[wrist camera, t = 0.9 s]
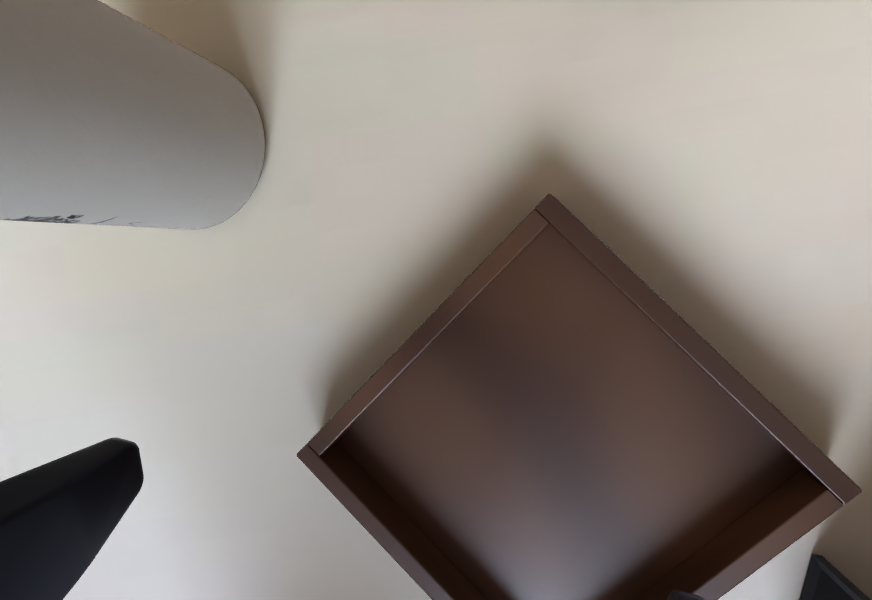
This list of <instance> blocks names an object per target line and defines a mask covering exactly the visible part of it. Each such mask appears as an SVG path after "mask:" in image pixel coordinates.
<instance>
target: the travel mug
mask: <svg viewBox="0 0 872 600" xmlns="http://www.w3.org/2000/svg"><path fill="white" fill-rule="evenodd" d="M264 154H265V138H264V130H263V125H262V120H261V117H260V114H259V111H258V109H257V106H256V104H255V102H254V100H253V99H252V97H251V95H250V94H249V92H248V91H247V89H246V88H245V87H244V86H243V85H242V83H241V82H240V81H239V80H238V79H237V78H236V77H234V76H233V75H232V74H230V73H229V72H228V71H226V70H224V69H223V68H221V67H219V66H217V65H216V64H214V63H212V62H210V61H208V60H206V59H205V58H203V57H201V56H199V55H197V54H195V53H194V52H192V51H190V50H188V49H186V48H184V47H183V46H181V45H179V44H177V43H175V42H174V41H172V40H170V39H168V38H166V37H164V36H163V35H161V34H159V33H157V32H155V31H153V30H152V29H150V28H148V27H146V26H144V25H142V24H141V23H139V22H137V21H135V20H133V19H131V18H130V17H128V16H126V15H124V14H122V13H120V12H119V11H117V10H115V9H113V8H111V7H109V6H108V5H106V4H104V3H102V2H100V1H98V0H0V220H12V221H32V222H52V223H72V224H92V225H112V226H132V227H152V228H172V229H203V228H208V227H211V226H214V225H217V224H219V223H221V222H223V221H225V220H227V219H228V218H230V217H231V216H232V215H234V214H235V213H236V212H237V211H238V210H239V209H240V208H241V207H242V206H243V205H244V204H245V203H246V201H247V200H248V199H249V197H250V196H251V194H252V193H253V191H254V189H255V187H256V185H257V182H258V180H259V177H260V174H261V171H262V167H263V162H264Z"/></svg>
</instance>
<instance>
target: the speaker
mask: <svg viewBox="0 0 872 600" xmlns="http://www.w3.org/2000/svg"><path fill="white" fill-rule="evenodd" d="M800 600H870V599H869V598H868V597H867V596H866V595H865V594H864V593H862V592H861V591H860V590H859V589H858V588H857V587H856V586H855V585H854V584H853V583H852V582H850V581H849V580H848V579H847V578H846V577H845V576H844V575H843V574H842V573H841V572H839V571H838V570H837V569H836V568H835V567H834V566H833V565H832V564H831V563H830V562H828V561H827V560H826V559H825V558H824V557H823V556H820V555H814V554H812V558H811V562H810V565H809V569H808V573H807V576H806V580H805V584H804V587H803V591H802V595H801V598H800Z"/></svg>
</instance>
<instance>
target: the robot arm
mask: <svg viewBox="0 0 872 600" xmlns="http://www.w3.org/2000/svg"><path fill="white" fill-rule="evenodd" d="M143 478H144V477H143V470H142V464H141V458H140V453H139V448H138V446H137V445H136V443H134V442H131V441H128V440H124V439H120V438H110V439H107V440H104V441H102V442H99V443H97V444H94V445H92V446H89V447H87V448H84V449H82V450H79V451H77V452H74V453H72V454H69V455H67V456H64V457H62V458H59V459H57V460H54V461H52V462H49V463H47V464H44V465H41V466H39V467H36V468H34V469H31V470H29V471H26V472H24V473H21V474H19V475H16V476H14V477H11V478H9V479H6V480H4V481H1V482H0V600H63V598H64V597H65V596H66V595H67V594H68V592H69V591H70V590H71V589H72V587H73V586H74V585H75V584H76V582H77V581H78V580H79V578H80V577H81V576H82V575H83V573H84V572H85V571H86V569H87V568H88V566H89V565H90V564H91V562H92V561H93V559H94V558H95V556H96V555H97V554H98V552H99V551H100V549H101V548H102V546H103V545H104V543H105V542H106V540H107V539H108V537H109V536H110V534H111V533H112V531H113V530H114V528H115V527H116V525H117V524H118V522H119V521H120V519H121V518H122V516H123V515H124V513H125V512H126V511H127V509H128V508H129V506H130V505H131V503H132V502H133V500H134V499H135V497H136V496H137V494H138V493H139V491H140V489H141V487H142V484H143ZM667 600H704V599H703V598H702V597H701V596H698V595H695V594H692V593H688V592H684V591H681V590H673V591H672V592H671V593H670V594H669V596H668V599H667Z"/></svg>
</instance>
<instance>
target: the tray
mask: <svg viewBox="0 0 872 600" xmlns="http://www.w3.org/2000/svg"><path fill="white" fill-rule="evenodd" d="M297 457H298V458H299V459H300V460H301V461H302V462H303V463H304V464H305V465H306V466H307V467H308V468H309V469H310V470H311V472H312V473H313V474H314V475H315V476H316V477H317V478H318V479H319V480H320V481H321V482H322V483H323V484H324V485H325V486H326V487H327V488H328V490H329V491H330V492H331V493H332V494H333V495H334V496H335V497H336V498H337V499H338V500H339V501H340V502H341V503H342V504H343V505H344V507H345V508H346V509H347V510H348V511H349V512H350V513H351V514H352V515H353V516H354V517H355V518H356V519H357V520H358V521H359V522H360V523H361V525H362V526H363V527H364V528H365V529H366V530H367V531H368V532H369V533H370V534H371V535H372V536H373V537H374V538H375V539H376V540H377V542H378V543H379V544H380V545H381V546H382V547H383V548H384V549H385V550H386V551H387V552H388V553H389V554H390V555H391V556H392V557H393V558H394V560H395V561H396V562H397V563H398V564H399V565H400V566H401V567H402V568H403V569H404V570H405V571H406V572H407V573H408V574H409V575H410V576H411V578H412V579H413V580H414V581H415V582H416V583H417V584H418V585H419V586H420V587H421V588H422V589H423V590H424V591H425V592H426V593H427V595H428V596H429V597H430V598H431V599H432V600H667V599H668V596H669V594H670V593H671V592H672V591H673V590H681V591H684V592H688V593H692V594H695V595H698V596H701V597H702V598H703V599H704V600H718V599H719V598H720V597H722V596H723V595H724V594H726V593H727V592H728V591H730V590H731V589H732V588H734V587H735V586H736V585H738V584H739V583H740V582H742V581H743V580H744V579H746V578H747V577H748V576H750V575H751V574H752V573H754V572H755V571H756V570H758V569H759V568H760V567H762V566H763V565H764V564H766V563H767V562H768V561H770V560H771V559H772V558H774V557H775V556H776V555H778V554H779V553H780V552H782V551H783V550H784V549H786V548H787V547H788V546H790V545H791V544H792V543H794V542H795V541H797V540H798V539H799V538H801V537H802V536H803V535H805V534H806V533H807V532H809V531H810V530H811V529H813V528H814V527H815V526H817V525H818V524H819V523H821V522H822V521H823V520H825V519H826V518H827V517H829V516H830V515H831V514H833V513H834V512H835V511H837V510H838V509H839V508H841V507H842V506H843V503H844V504H846V503H847V502H849V501H850V500H851V499H853V498H854V497H855V496H857V495H858V494H859V493H861V492H862V490H861V488H860V487H859V486H857V485H856V484H855V483H854V482H853V481H852V480H851V479H850V478H849V477H848V476H847V475H846V474H845V473H844V472H843V471H842V470H841V469H840V468H839V467H837V466H836V465H835V464H834V463H833V462H832V461H831V460H830V459H829V458H828V457H827V456H826V455H825V454H824V453H823V452H822V451H821V450H820V449H819V448H818V447H816V446H815V445H814V444H813V443H812V442H811V441H810V440H809V439H808V438H807V437H806V436H805V435H804V434H803V433H802V432H801V431H800V430H799V429H798V428H797V427H795V426H794V425H793V424H792V423H791V422H790V421H789V420H788V419H787V418H786V417H785V416H784V415H783V414H782V413H781V412H780V411H779V410H778V409H777V408H775V407H774V406H773V405H772V404H771V403H770V402H769V401H768V400H767V399H766V398H765V397H764V396H763V395H762V394H761V393H760V392H759V391H758V390H757V389H756V388H754V387H753V386H752V385H751V384H750V383H749V382H748V381H747V380H746V379H745V378H744V377H743V376H742V375H741V374H740V373H739V372H738V371H737V370H736V369H734V368H733V367H732V366H731V365H730V364H729V363H728V362H727V361H726V360H725V359H724V358H723V357H722V356H721V355H720V354H719V353H718V352H717V351H716V350H715V349H713V348H712V347H711V346H710V345H709V344H708V343H707V342H706V341H705V340H704V339H703V338H702V337H701V336H700V335H699V334H698V333H697V332H696V331H695V330H694V329H692V328H691V327H690V326H689V325H688V324H687V323H686V322H685V321H684V320H683V319H682V318H681V317H680V316H679V315H678V314H677V313H676V312H675V311H674V310H672V309H671V308H670V307H669V306H668V305H667V304H666V303H665V302H664V301H663V300H662V299H661V298H660V297H659V296H658V295H657V294H656V293H655V292H654V291H653V290H651V289H650V288H649V287H648V286H647V285H646V284H645V283H644V282H643V281H642V280H641V279H640V278H639V277H638V276H637V275H636V274H635V273H634V272H633V271H632V270H630V269H629V268H628V267H627V266H626V265H625V264H624V263H623V262H622V261H621V260H620V259H619V258H618V257H617V256H616V255H615V254H614V253H613V252H612V251H610V250H609V249H608V248H607V247H606V246H605V245H604V244H603V243H602V242H601V241H600V240H599V239H598V238H597V237H596V236H595V235H594V234H593V233H592V232H591V231H589V230H588V229H587V228H586V227H585V226H584V225H583V224H582V223H581V222H580V221H579V220H578V219H577V218H576V217H575V216H574V215H573V214H572V213H571V212H569V211H568V210H567V209H566V208H565V207H564V206H563V205H562V204H561V203H560V202H559V201H558V200H557V199H556V198H555V197H554V196H553V195H552V194H548V195H547V196H546V197H545V198H544V199H543V200H542V201H541V202H540V203H539V204H538V205H537V206H536V209H534V210H533V211H532V212H531V213H530V214H529V215H528V216H527V217H526V218H525V219H524V220H523V221H522V222H521V223H520V224H519V225H518V226H517V227H516V228H515V229H514V230H513V231H512V232H511V233H510V234H509V235H508V236H507V237H506V238H505V240H504V241H503V242H502V243H501V244H500V245H499V246H498V247H497V248H496V249H495V250H494V251H493V252H492V253H491V254H490V255H489V256H488V257H487V258H486V259H485V260H484V261H483V262H482V263H481V264H480V265H479V266H478V267H477V268H476V269H475V270H474V272H473V273H472V274H471V275H470V276H469V277H468V278H467V279H466V280H465V281H464V282H463V283H462V284H461V285H460V286H459V287H458V288H457V289H456V290H455V291H454V292H453V293H452V294H451V295H450V296H449V297H448V298H447V299H446V300H445V301H444V303H443V304H442V305H441V306H440V307H439V308H438V309H437V310H436V311H435V312H434V313H433V314H432V315H431V316H430V317H429V318H428V319H427V320H426V321H425V322H424V323H423V324H422V325H421V326H420V327H419V328H418V329H417V330H416V331H415V332H414V334H413V335H412V336H411V337H410V338H409V339H408V340H407V341H406V342H405V343H404V344H403V345H402V346H401V347H400V348H399V349H398V350H397V351H396V352H395V353H394V354H393V355H392V356H391V357H390V358H389V359H388V360H387V361H386V362H385V363H384V364H383V366H382V367H381V368H380V369H379V370H378V371H377V372H376V373H375V374H374V375H373V376H372V377H371V378H370V379H369V380H368V381H367V382H366V383H365V384H364V385H363V386H362V387H361V388H360V389H359V390H358V391H357V392H356V393H355V394H354V395H353V397H352V398H351V399H350V400H349V401H348V402H347V403H346V404H345V405H344V406H343V407H342V408H341V409H340V410H339V411H338V412H337V413H336V414H335V415H334V416H333V417H332V418H331V419H330V420H329V421H328V422H327V423H326V424H325V425H324V426H323V428H322V429H321V430H320V431H319V432H318V433H317V434H316V435H315V436H314V437H313V438H312V439H311V440H310V441H309V442H308V443H307V444H306V445H305V446H304V447H303V448H302V449H301V450H300V451H299V452H298V453H297Z"/></svg>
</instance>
